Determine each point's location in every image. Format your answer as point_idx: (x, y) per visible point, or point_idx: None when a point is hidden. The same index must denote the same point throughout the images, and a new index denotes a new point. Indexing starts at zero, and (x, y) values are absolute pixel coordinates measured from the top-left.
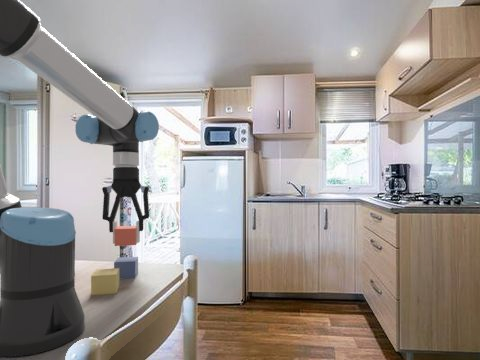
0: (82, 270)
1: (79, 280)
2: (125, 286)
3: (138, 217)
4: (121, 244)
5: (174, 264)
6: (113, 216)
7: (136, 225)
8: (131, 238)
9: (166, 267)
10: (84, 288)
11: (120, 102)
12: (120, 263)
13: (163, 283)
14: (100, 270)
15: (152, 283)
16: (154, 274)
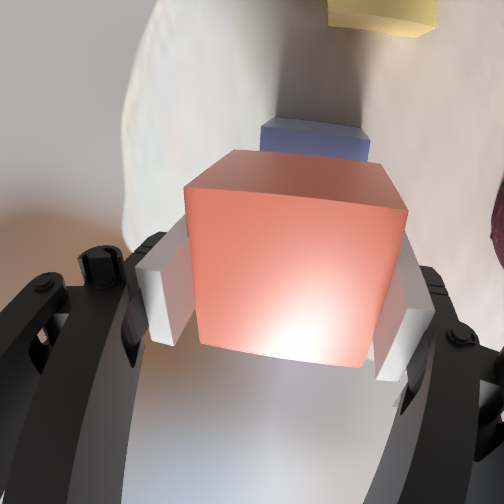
0: (462, 288)
1: (479, 161)
2: (302, 12)
3: (116, 300)
4: (334, 160)
5: None
6: (441, 367)
7: (177, 246)
8: (253, 164)
9: (169, 226)
10: (452, 48)
11: None
12: (337, 134)
13: (164, 25)
14: (413, 3)
15: (201, 28)
16: (202, 142)
